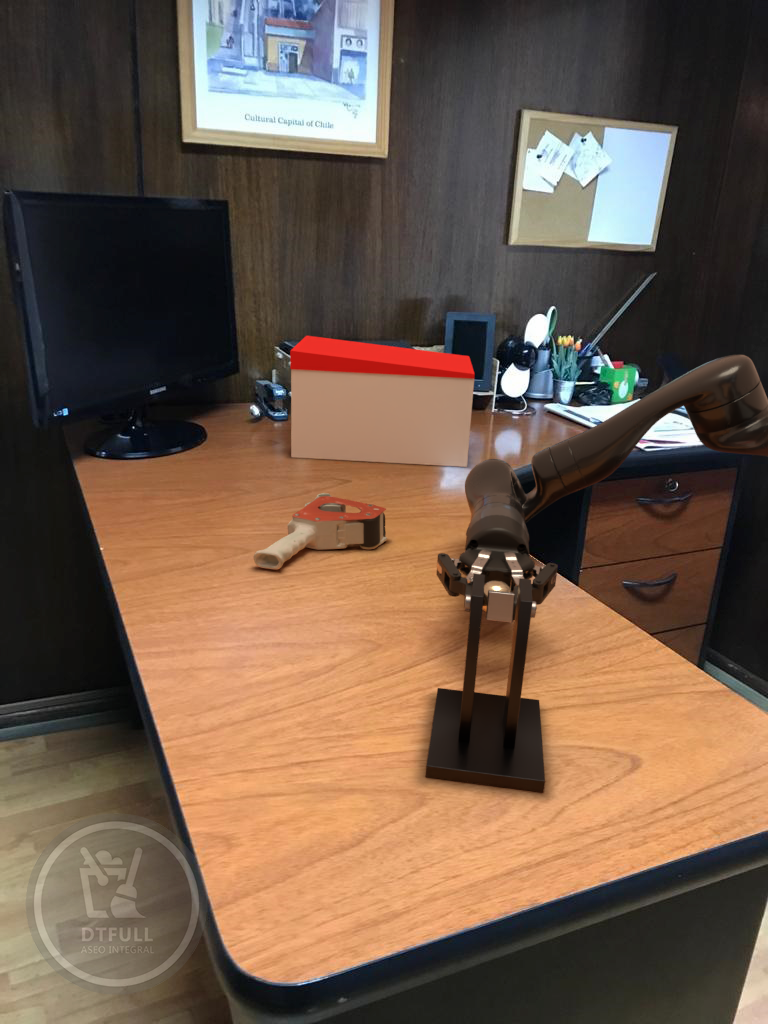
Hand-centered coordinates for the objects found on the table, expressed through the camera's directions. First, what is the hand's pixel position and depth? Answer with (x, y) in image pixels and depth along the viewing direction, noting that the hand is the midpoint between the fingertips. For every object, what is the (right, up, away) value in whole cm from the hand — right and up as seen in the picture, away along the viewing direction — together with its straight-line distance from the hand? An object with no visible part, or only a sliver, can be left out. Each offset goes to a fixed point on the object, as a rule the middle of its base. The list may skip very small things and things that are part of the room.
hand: (495, 610), depth 78 cm
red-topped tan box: (-12, +23, +84) cm, 88 cm away
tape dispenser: (-21, +5, +35) cm, 41 cm away
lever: (-1, 0, -4) cm, 4 cm away
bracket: (-2, -11, -6) cm, 13 cm away
